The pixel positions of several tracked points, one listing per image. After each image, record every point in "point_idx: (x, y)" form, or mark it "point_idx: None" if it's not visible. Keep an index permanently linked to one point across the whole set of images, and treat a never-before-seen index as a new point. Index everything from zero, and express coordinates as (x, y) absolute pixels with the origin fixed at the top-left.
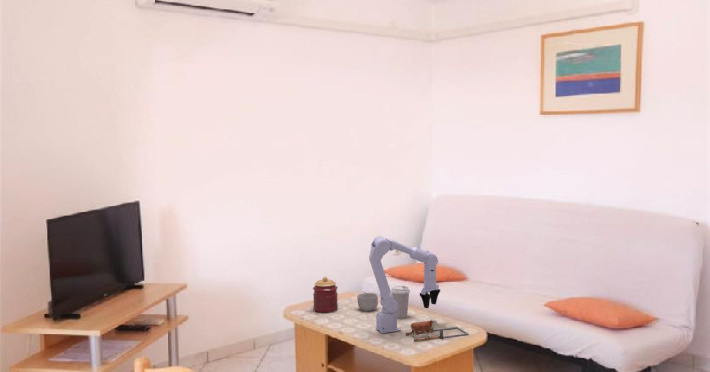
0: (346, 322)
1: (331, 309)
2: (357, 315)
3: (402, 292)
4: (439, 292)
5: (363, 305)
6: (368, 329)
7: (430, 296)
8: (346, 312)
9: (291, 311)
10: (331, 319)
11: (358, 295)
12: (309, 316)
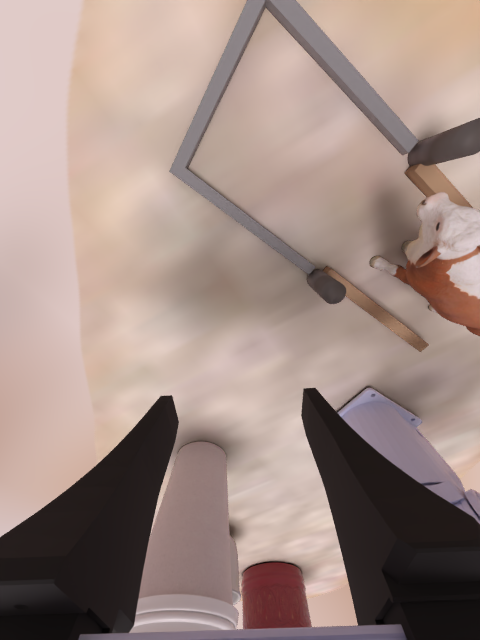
0: None
1: (287, 573)
2: (272, 526)
3: (216, 615)
4: (35, 514)
5: (237, 559)
6: None
7: (408, 510)
8: (264, 547)
9: (320, 594)
10: (337, 543)
11: None
12: (337, 570)
